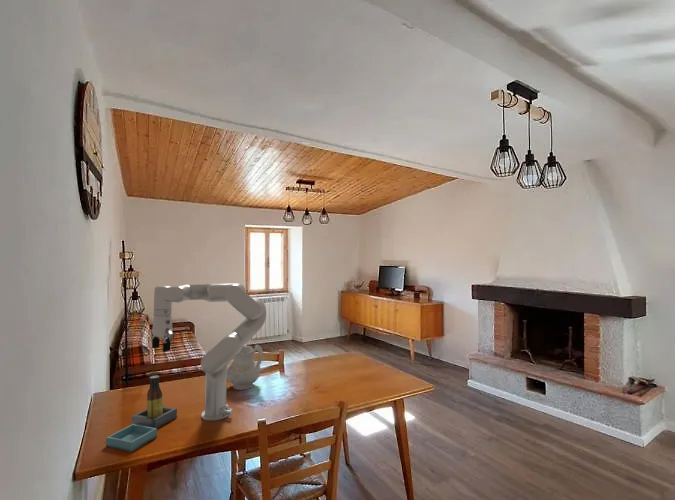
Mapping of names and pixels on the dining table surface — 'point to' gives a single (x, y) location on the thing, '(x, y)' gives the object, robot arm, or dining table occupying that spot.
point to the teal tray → (131, 437)
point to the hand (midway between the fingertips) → (161, 349)
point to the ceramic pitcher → (245, 368)
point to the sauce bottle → (154, 398)
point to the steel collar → (154, 422)
